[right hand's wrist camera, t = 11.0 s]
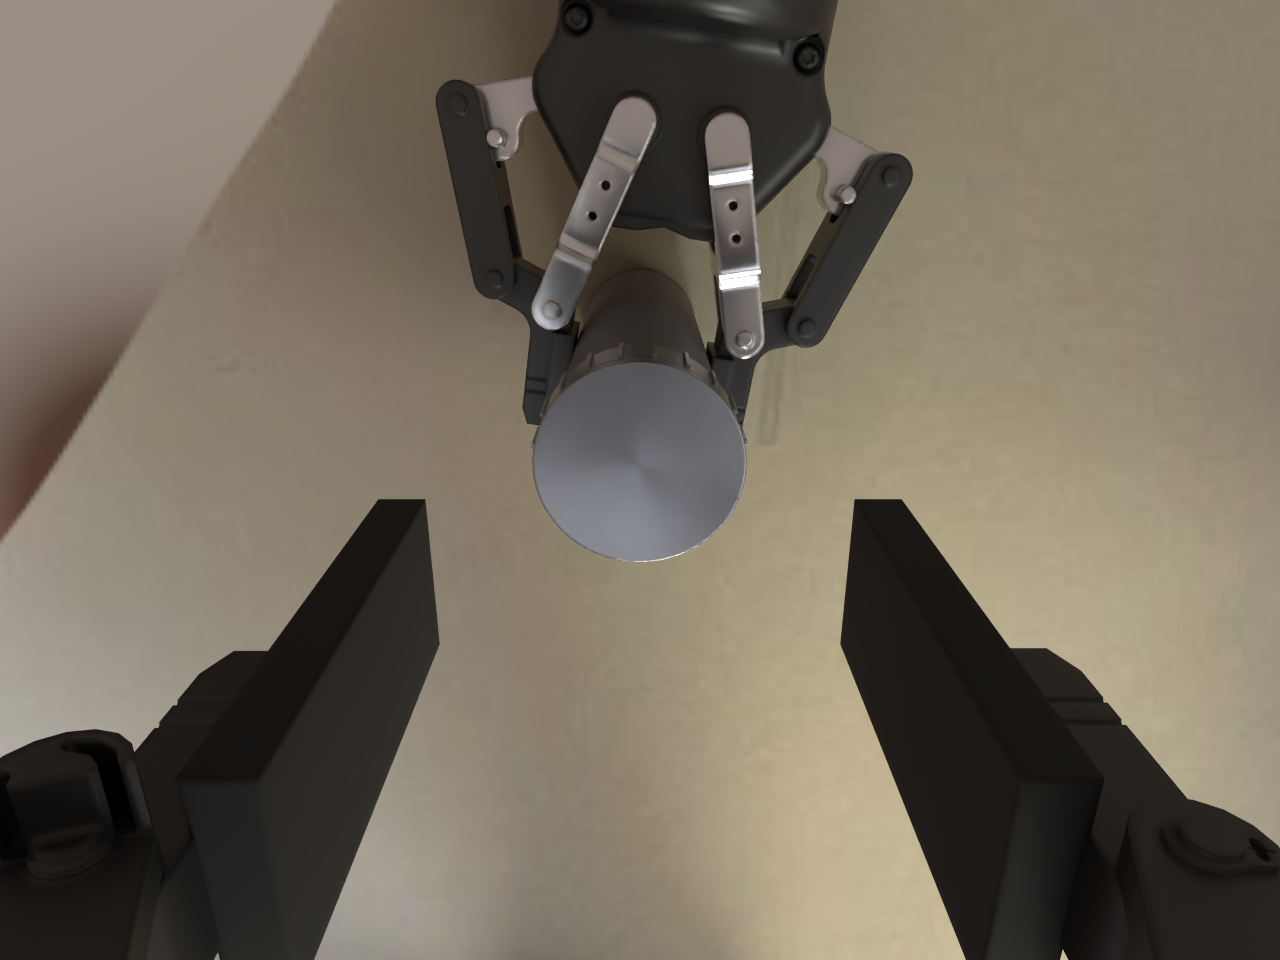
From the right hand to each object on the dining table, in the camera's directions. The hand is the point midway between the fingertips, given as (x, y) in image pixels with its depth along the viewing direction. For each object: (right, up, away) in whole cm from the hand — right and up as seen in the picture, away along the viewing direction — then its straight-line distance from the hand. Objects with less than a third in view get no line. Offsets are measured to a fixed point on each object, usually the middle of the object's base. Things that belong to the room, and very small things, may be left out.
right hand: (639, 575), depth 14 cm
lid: (0, +2, +5) cm, 5 cm away
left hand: (0, +3, +14) cm, 14 cm away
